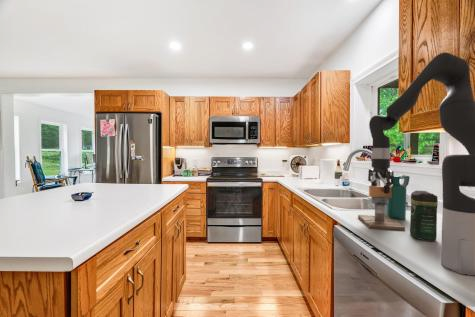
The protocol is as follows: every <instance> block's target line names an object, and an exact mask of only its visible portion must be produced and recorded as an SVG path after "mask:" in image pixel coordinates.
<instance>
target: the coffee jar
mask: <svg viewBox="0 0 475 317" xmlns="http://www.w3.org/2000/svg"><path fill="white" fill-rule="evenodd" d="M438 204H439V200H438V196H437V195H436V194H434V193H431V192H428V191H426V190H415V191H412V192H411V193H410V218H409V219H410V223H409V234H410V235H411V236H412V237H413V238H415V239H418V240H421V241H424V242H432V241H434V242H435V241H437V231H438V230H437V226H438V225H437V224H438V223H437V222H438V221H437V220H438V217H437V216H438Z"/></svg>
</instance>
